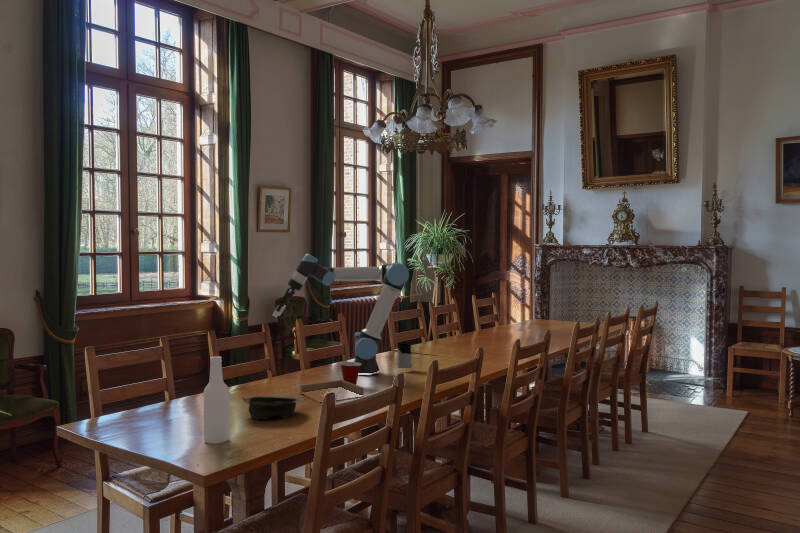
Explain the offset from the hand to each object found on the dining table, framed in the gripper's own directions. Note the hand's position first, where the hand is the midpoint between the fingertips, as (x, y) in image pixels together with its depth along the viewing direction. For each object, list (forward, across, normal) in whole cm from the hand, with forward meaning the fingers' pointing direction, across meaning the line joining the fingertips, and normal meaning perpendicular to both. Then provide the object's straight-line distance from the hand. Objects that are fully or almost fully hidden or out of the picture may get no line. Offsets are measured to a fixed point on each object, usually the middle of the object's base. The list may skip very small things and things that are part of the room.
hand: (275, 315), depth 334 cm
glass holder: (-9, -21, +78) cm, 82 cm away
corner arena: (+14, +38, +44) cm, 60 cm away
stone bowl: (+27, +72, +26) cm, 81 cm away
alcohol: (+36, +106, +13) cm, 113 cm away
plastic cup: (+9, +18, +52) cm, 55 cm away
